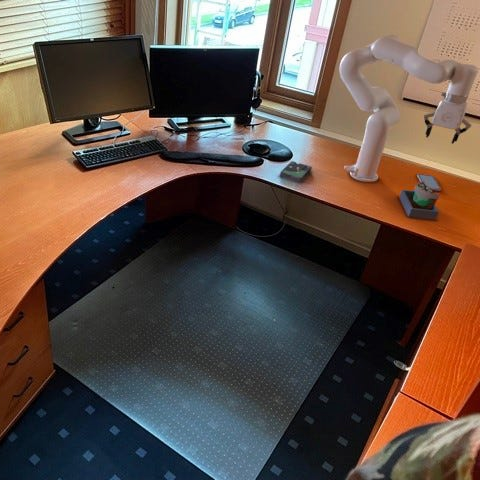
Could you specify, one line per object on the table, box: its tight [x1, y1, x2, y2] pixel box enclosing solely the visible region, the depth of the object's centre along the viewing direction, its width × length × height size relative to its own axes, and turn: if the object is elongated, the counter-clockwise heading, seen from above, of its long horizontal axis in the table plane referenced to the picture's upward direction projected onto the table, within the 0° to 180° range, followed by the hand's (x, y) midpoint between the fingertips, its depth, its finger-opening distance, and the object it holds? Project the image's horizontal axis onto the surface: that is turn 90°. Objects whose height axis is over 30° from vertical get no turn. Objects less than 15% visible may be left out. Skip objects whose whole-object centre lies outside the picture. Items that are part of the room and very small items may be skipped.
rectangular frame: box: [398, 189, 440, 221], centre depth 198 cm, size 11×17×4 cm, turn 169°
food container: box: [411, 181, 440, 210], centre depth 196 cm, size 12×6×10 cm, turn 5°
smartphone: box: [416, 173, 442, 192], centre depth 218 cm, size 7×1×15 cm
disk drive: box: [279, 160, 313, 183], centre depth 221 cm, size 10×3×15 cm
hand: (440, 139), depth 193 cm, fingers open, 9 cm apart
